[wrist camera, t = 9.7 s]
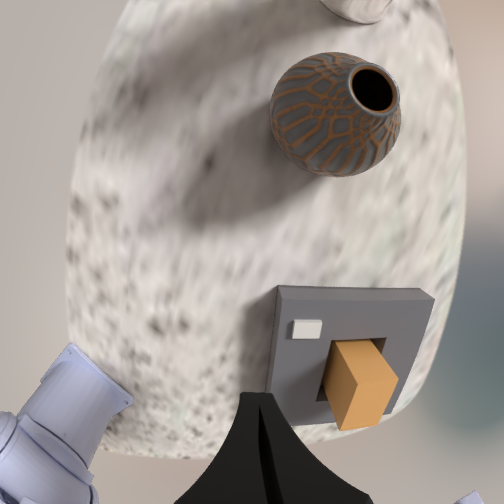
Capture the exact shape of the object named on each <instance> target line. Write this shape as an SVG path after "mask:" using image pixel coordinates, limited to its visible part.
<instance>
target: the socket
mask: <svg viewBox="0 0 504 504" xmlns="http://www.w3.org/2000/svg"><path fill="white" fill-rule="evenodd" d="M434 301H435V299H434V298H433V297H431V296H430V295H428V294H427V293H425V292H424V291H423V290H421V289H420V288H352V287H314V286H286V285H278V288H277V298H276V307H275V316H274V325H273V333H272V342H271V350H270V358H269V366H268V374H267V382H266V389H265V393H272V394H273V395H274V397H275V400H276V402H277V404H278V406H279V408H280V410H281V411H282V413H283V415H284V417H285V418H286V420H287V422H288V423H289V425H290V426H297V425H312V424H324V423H334V422H336V420H335V418H334V415H333V412H332V409H331V407H330V404H329V401H328V398H327V396H326V393H325V390H324V387H323V385H322V382H321V380H322V376H323V372H324V368H325V364H326V360H327V356H328V352H329V348H330V344H331V340H349V339H368V338H369V339H370V340H371V341H372V343H373V344H374V345H375V347H376V348H377V350H378V351H379V352H380V354H381V355H382V356H383V358H384V359H385V360H386V362H387V363H388V365H389V366H390V367H391V369H392V370H393V372H394V373H395V374H396V376H397V377H398V379H399V380H398V382H397V384H396V387H395V389H394V391H393V394H392V396H391V398H390V400H389V402H388V404H387V406H386V409H385V411H384V413H383V415H386V414H391V412H392V410H393V408H394V406H395V404H396V402H397V400H398V398H399V395H400V393H401V391H402V389H403V387H404V384H405V382H406V380H407V378H408V375H409V373H410V370H411V368H412V366H413V363H414V361H415V358H416V355H417V353H418V350H419V347H420V345H421V342H422V339H423V336H424V333H425V330H426V327H427V324H428V321H429V318H430V314H431V311H432V308H433V304H434Z"/></svg>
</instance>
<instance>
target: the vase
mask: <svg viewBox="0 0 504 504" xmlns="http://www.w3.org/2000/svg"><path fill="white" fill-rule="evenodd" d="M399 102H400V94H399V89H398V86H397V84H396V82H395V80H394V79H393V78H392V76H391V75H390V74H389V73H388V72H387V71H386V70H385V69H383V68H382V67H380V66H378V65H376V64H373V63H369V62H367V61H365V60H363V59H361V58H359V57H356V56H353V55H350V54H346V53H339V52H328V53H320V54H316V55H313V56H310V57H307V58H305V59H303V60H301V61H299V62H298V63H296V64H295V65H293V66H292V67H291V68H289V69H288V70H287V71H286V72H285V73H284V75H283V76H282V77H281V78H280V80H279V81H278V83H277V85H276V87H275V89H274V91H273V94H272V98H271V102H270V110H269V117H270V125H271V129H272V133H273V135H274V138H275V140H276V142H277V144H278V145H279V147H280V148H281V150H282V151H283V152H284V153H285V155H286V156H287V157H288V158H289V159H290V160H292V161H293V162H294V163H295V164H297V165H298V166H300V167H301V168H303V169H305V170H307V171H309V172H312V173H315V174H318V175H323V176H329V177H346V176H353V175H356V174H360V173H362V172H365V171H367V170H369V169H370V168H372V167H374V166H375V165H377V164H378V163H379V162H380V161H381V160H383V159H384V158H385V156H386V155H387V154H388V153H389V152H390V150H391V149H392V147H393V146H394V144H395V142H396V140H397V137H398V134H399V131H400V125H401V110H400V105H399Z"/></svg>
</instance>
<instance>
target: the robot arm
mask: <svg viewBox="0 0 504 504" xmlns="http://www.w3.org/2000/svg"><path fill="white" fill-rule="evenodd" d="M41 383H42V384H41V385H40V386H39V387H38V389H37V390H36V391H35V393H34V394H33V395H32V396H31V397H30V399H29V400H28V401H27V403H26V404H25V405H24V406H23V408H22V409H21V410H20V412H19V413H18V414H17V416H14V415H13V414H12V413H11V412H3V411H2V412H0V504H99V501H98V500H99V499H98V493H97V491H96V489H95V488H94V486H93V485H92V484H91V482H92V480H93V477H94V475H93V474H92V473H90V472H89V471H88V468H89V466H90V464H91V461H92V459H93V457H94V454H95V452H96V450H97V448H98V445H99V443H100V441H101V439H102V436H103V434H104V432H105V430H106V428H107V426H108V423H109V421H110V419H111V417H113V416H115V415H116V414H118V413H119V412H121V411H122V410H124V409H125V408H127V407H128V406H130V405H131V404H133V403H134V398H133V397H132V396H131V395H130V394H128V393H127V392H126V391H125V390H124V389H122V388H121V387H120V386H119V385H118V384H116V383H115V382H114V381H113V380H112V379H111V378H109V377H108V376H107V375H106V374H105V373H104V372H103V371H102V370H101V369H99V368H98V367H97V366H96V365H95V364H94V363H93V362H92V361H91V360H90V359H89V358H88V357H87V356H86V355H85V354H84V353H83V352H82V351H81V350H80V349H79V348H78V347H77V346H76V345H75V344H73V343H69V344H68V346H67V347H66V348H65V349H64V350H63V352H62V353H61V354H60V355H59V357H58V358H57V360H55V362H54V363H53V364H52V366H51V367H50V368H49V369H48V371H47V372H46V373H45V375H44V376H43V377H42V379H41ZM174 504H373V501H372V500H371V498H370V496H369V495H368V494H366V493H364V492H362V491H360V490H358V489H357V488H355V487H353V486H351V485H350V484H348V483H347V482H345V481H344V480H343V479H341V478H340V477H338V476H337V475H336V474H334V473H333V472H332V471H331V470H329V469H328V468H327V467H326V466H324V465H323V464H322V463H321V462H320V461H319V460H318V459H317V458H316V457H315V456H314V455H313V454H312V453H311V452H310V451H309V450H308V448H307V447H306V446H305V445H304V444H303V443H302V441H301V440H300V439H299V437H298V436H297V435H296V433H295V432H294V431H293V429H292V428H291V426H290V425H289V423H288V422H287V420H286V418H285V417H284V415H283V413H282V411H281V410H280V408H279V406H278V404H277V402H276V400H275V397H274V395H273V394H272V393H254V392H242V393H241V394H240V400H239V406H238V410H237V413H236V416H235V419H234V421H233V424H232V427H231V429H230V431H229V433H228V435H227V437H226V439H225V441H224V443H223V445H222V447H221V448H220V450H219V452H218V453H217V455H216V456H215V458H214V459H213V461H212V462H211V463H210V465H209V466H208V468H207V469H206V470H205V472H204V473H203V474H202V475H201V476H200V477H199V479H198V480H197V481H196V482H195V483H194V484H193V485H192V486H191V487H190V488H189V490H187V491H186V492H185V493H184V494H183V495H182V496H181V497H180V498H179V499H178V500H176V501H175V503H174ZM454 504H484V503H483V501H482V500H481V498H480V496H479V495H478V493H477V491H476V490H474V491H473V492H471V493H469V494H468V495H466V496H464V497H463V498H461V499H460V500H458V501H456V502H455V503H454Z"/></svg>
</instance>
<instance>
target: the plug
mask: <svg viewBox="0 0 504 504" xmlns="http://www.w3.org/2000/svg"><path fill="white" fill-rule="evenodd" d="M398 380H399V379H398V377H397V376H396V374H395V373H394V372H393V370H392V369H391V367H390V366H389V365H388V363H387V362H386V360H385V359H384V358H383V356H382V355H381V354H380V352H379V351H378V350H377V348H376V347H375V345H374V344H373V343H372V341H371V340H370V339H369V338H368V339H349V340H331V344H330V348H329V352H328V356H327V360H326V364H325V368H324V372H323V376H322V380H321V382H322V385H323V387H324V390H325V393H326V396H327V398H328V401H329V404H330V407H331V409H332V412H333V415H334V418H335V420H336V423H337V426H338V429H339V431H344V430H351V429H358V428H364V427H369V426H375V425H377V424H378V423H379V421H380V419H381V417H382V415H383V413H384V411H385V409H386V406H387V404H388V402H389V400H390V398H391V396H392V394H393V391H394V389H395V387H396V384H397V382H398Z"/></svg>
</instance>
